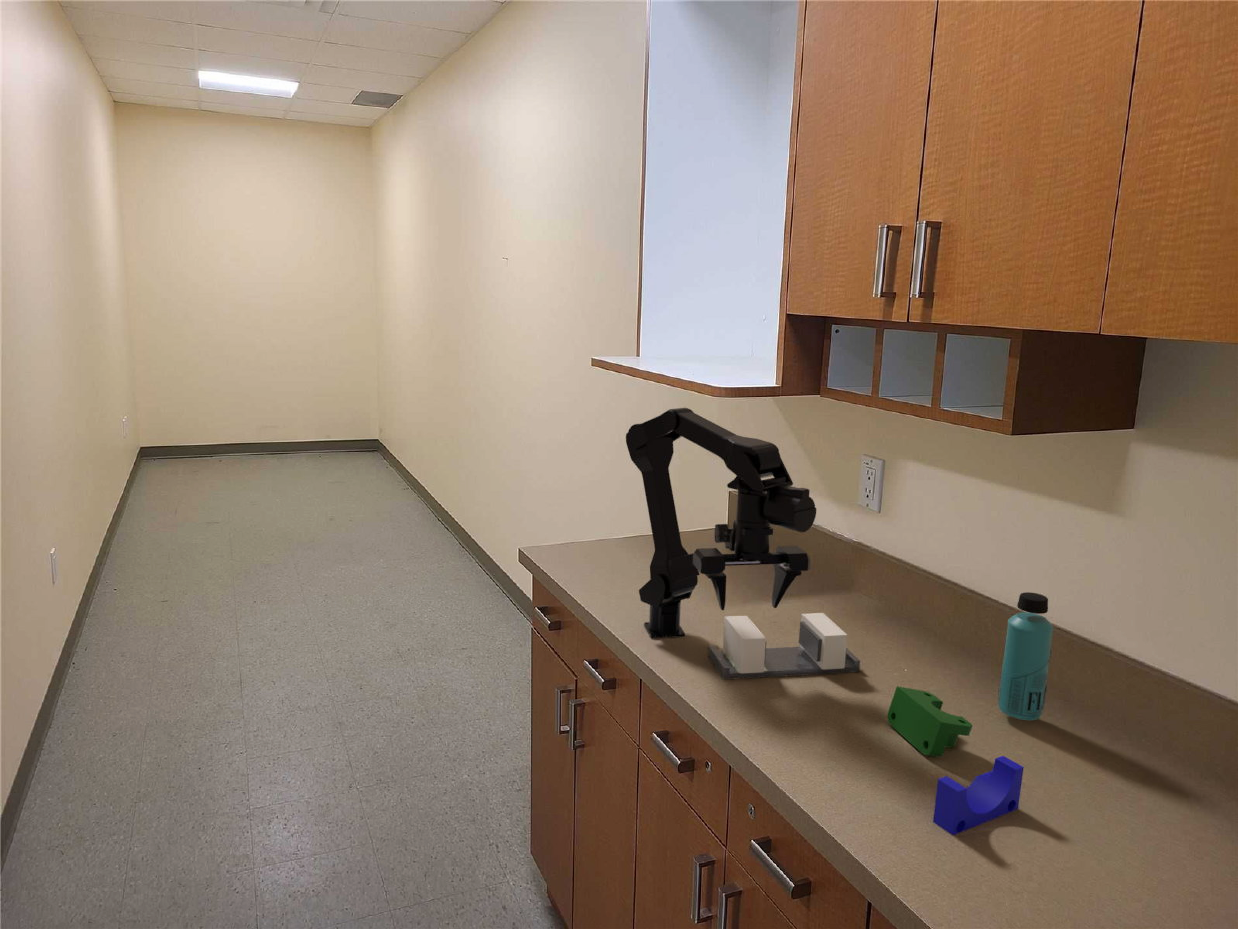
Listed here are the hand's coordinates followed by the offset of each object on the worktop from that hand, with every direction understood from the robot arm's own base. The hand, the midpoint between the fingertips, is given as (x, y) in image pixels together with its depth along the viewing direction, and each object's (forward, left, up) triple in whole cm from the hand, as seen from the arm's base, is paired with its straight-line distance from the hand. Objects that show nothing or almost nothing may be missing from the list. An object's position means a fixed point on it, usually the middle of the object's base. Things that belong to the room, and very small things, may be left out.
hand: (748, 608), depth 148 cm
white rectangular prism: (0, 0, -9) cm, 9 cm away
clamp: (+27, +19, -11) cm, 35 cm away
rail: (0, +7, -11) cm, 13 cm away
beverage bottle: (+23, +36, -11) cm, 44 cm away
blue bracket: (+44, +15, -11) cm, 48 cm away
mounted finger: (0, +14, -9) cm, 17 cm away
